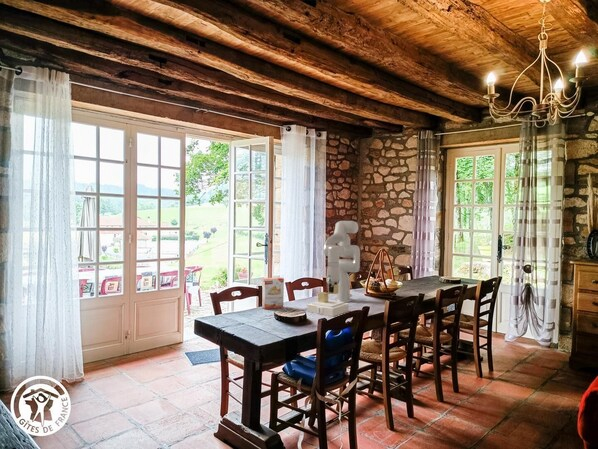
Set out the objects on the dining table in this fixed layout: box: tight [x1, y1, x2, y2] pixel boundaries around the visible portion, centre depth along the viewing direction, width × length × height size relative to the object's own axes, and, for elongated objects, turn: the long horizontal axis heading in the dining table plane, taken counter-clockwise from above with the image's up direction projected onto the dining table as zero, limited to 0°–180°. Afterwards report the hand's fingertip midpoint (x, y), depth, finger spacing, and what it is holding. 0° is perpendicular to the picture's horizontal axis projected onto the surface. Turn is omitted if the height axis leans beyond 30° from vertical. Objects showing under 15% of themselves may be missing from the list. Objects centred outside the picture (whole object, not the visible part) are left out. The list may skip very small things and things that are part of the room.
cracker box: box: [261, 276, 285, 310], centre depth 285 cm, size 14×6×21 cm, turn 112°
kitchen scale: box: [306, 299, 350, 317], centre depth 276 cm, size 21×20×6 cm
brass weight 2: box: [327, 283, 339, 295], centre depth 273 cm, size 5×5×6 cm
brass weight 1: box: [317, 291, 329, 303], centre depth 278 cm, size 5×5×6 cm
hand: (333, 291), depth 273 cm, fingers closed on brass weight 2, 5 cm apart
